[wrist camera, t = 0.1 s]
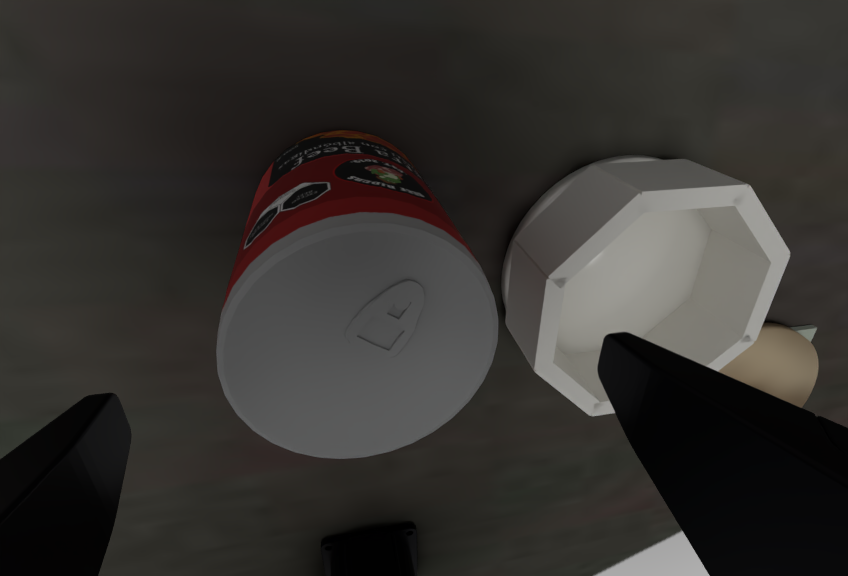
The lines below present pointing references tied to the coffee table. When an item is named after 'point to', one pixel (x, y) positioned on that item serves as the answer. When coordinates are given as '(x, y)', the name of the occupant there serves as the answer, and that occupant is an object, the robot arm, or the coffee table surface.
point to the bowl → (639, 269)
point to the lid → (777, 364)
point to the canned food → (352, 304)
